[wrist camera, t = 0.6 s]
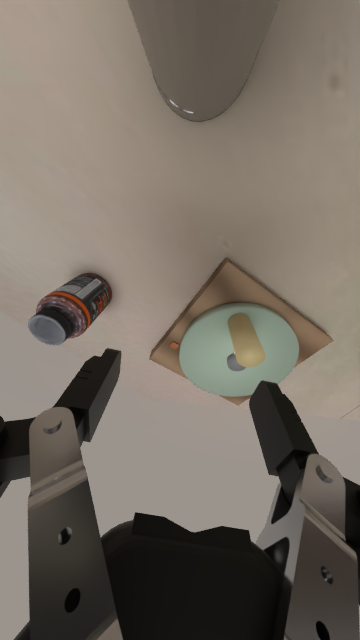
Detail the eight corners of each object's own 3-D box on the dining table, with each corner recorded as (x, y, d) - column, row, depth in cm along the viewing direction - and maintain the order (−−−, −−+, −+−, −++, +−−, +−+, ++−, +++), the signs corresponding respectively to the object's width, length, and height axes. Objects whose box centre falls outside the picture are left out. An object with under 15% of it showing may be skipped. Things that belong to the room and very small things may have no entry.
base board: (225, 257, 26) (228, 262, 24) (326, 332, 31) (334, 341, 29) (151, 351, 36) (148, 360, 34) (236, 396, 41) (238, 406, 39)
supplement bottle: (111, 311, 32) (75, 358, 22) (75, 302, 32) (23, 346, 22) (113, 277, 29) (72, 316, 19) (74, 267, 28) (11, 301, 19)
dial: (282, 386, 35) (306, 438, 28) (185, 388, 37) (182, 435, 30) (305, 298, 26) (350, 338, 18) (173, 306, 28) (165, 346, 21)
